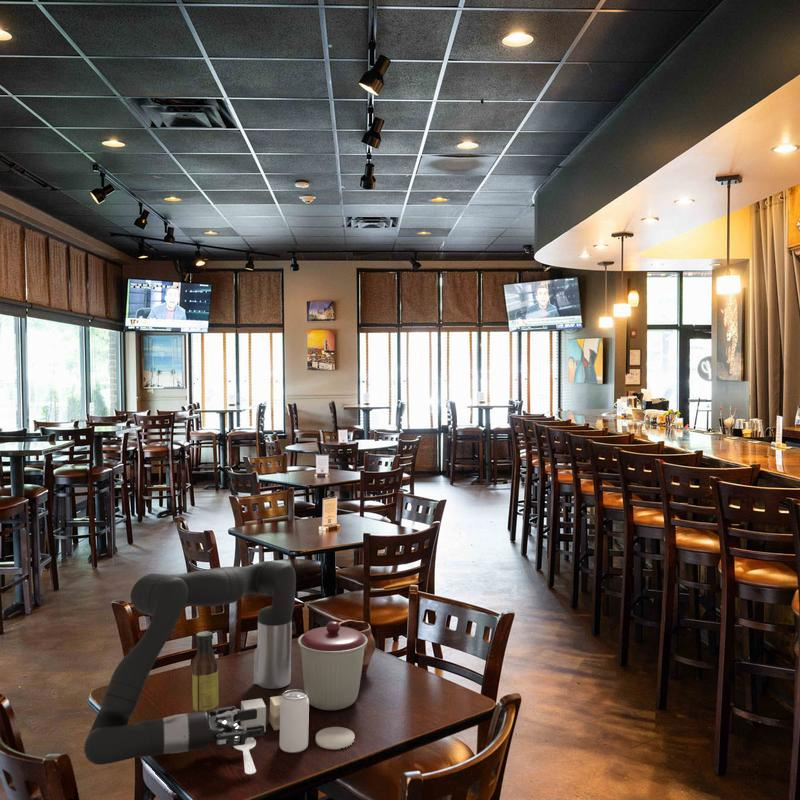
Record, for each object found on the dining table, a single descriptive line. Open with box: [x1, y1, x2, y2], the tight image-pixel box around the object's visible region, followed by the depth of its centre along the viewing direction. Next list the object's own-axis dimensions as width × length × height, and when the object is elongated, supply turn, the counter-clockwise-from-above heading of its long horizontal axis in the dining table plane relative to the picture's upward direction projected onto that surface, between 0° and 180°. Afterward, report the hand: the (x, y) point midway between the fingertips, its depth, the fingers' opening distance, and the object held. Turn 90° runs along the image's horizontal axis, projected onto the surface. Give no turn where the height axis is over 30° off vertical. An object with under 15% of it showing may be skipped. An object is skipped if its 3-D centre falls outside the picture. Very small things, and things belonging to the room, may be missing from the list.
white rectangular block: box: [240, 698, 267, 733], centre depth 176 cm, size 5×5×6 cm
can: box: [279, 689, 310, 754], centre depth 167 cm, size 6×6×12 cm
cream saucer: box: [315, 726, 355, 750], centre depth 171 cm, size 9×9×1 cm
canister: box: [297, 620, 368, 711], centre depth 191 cm, size 18×18×21 cm
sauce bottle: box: [191, 630, 219, 717], centre depth 183 cm, size 7×6×20 cm
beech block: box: [269, 695, 283, 731], centre depth 178 cm, size 5×5×6 cm
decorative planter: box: [338, 619, 376, 676], centre depth 211 cm, size 20×12×14 cm, turn 29°
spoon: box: [232, 737, 257, 775], centre depth 163 cm, size 5×18×1 cm, turn 18°
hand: (260, 721), depth 164 cm, fingers open, 8 cm apart
